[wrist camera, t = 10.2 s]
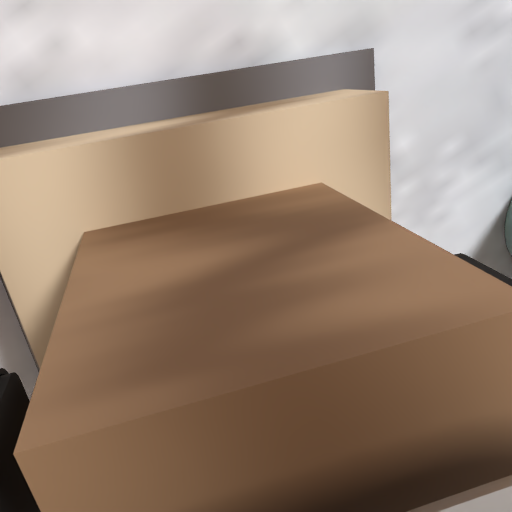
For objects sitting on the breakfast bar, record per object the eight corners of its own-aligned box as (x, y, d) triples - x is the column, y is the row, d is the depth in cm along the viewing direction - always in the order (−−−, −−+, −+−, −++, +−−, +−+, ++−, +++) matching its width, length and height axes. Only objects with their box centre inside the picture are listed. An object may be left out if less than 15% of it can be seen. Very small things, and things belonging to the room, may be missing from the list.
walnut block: (321, 182, 12) (542, 303, 5) (337, 369, 14) (504, 606, 8) (83, 232, 11) (13, 454, 4) (144, 425, 13) (155, 751, 7)
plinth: (367, 49, 14) (424, 41, 11) (379, 368, 18) (421, 418, 16) (-59, 115, 12) (-117, 125, 9) (77, 456, 16) (67, 530, 14)
